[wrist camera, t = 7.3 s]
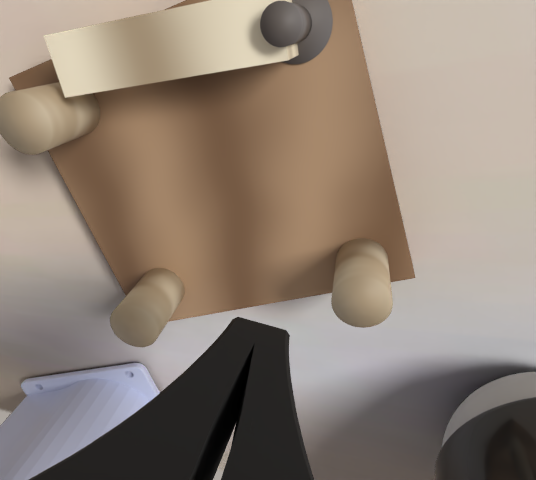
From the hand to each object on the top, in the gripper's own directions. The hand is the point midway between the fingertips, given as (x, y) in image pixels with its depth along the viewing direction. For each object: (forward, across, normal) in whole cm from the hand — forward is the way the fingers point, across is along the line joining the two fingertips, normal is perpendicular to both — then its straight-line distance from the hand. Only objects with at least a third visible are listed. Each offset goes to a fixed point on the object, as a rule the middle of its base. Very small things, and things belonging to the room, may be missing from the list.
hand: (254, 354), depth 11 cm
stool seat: (+10, +4, -1) cm, 11 cm away
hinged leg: (+9, +5, -6) cm, 12 cm away
